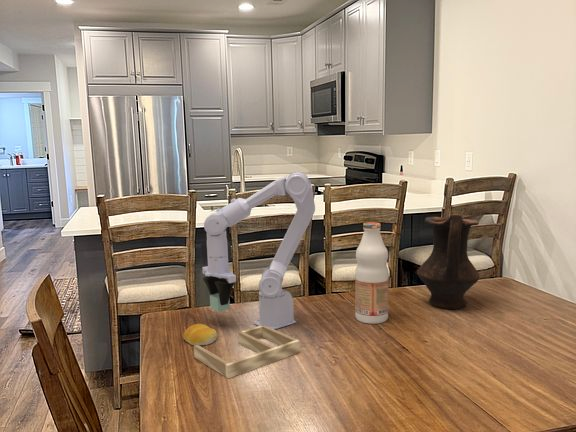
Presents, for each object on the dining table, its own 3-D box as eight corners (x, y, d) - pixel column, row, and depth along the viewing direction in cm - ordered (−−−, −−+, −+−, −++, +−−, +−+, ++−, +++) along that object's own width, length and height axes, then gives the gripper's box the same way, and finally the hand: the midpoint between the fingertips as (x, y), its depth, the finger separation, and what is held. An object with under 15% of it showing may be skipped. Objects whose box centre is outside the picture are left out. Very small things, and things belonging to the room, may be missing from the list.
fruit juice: (354, 323, 148) (354, 226, 143) (356, 312, 157) (356, 220, 153) (388, 325, 146) (388, 226, 142) (388, 314, 155) (388, 220, 151)
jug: (413, 294, 173) (414, 205, 169) (471, 295, 171) (474, 204, 166) (420, 316, 153) (422, 214, 148) (486, 317, 150) (490, 214, 145)
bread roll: (196, 349, 132) (196, 334, 132) (179, 339, 139) (178, 325, 138) (224, 340, 138) (223, 326, 137) (205, 331, 144) (205, 318, 144)
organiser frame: (263, 335, 140) (263, 324, 140) (299, 352, 129) (299, 340, 128) (194, 357, 127) (193, 345, 127) (228, 378, 116) (227, 365, 115)
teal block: (222, 305, 151) (221, 292, 151) (229, 308, 148) (229, 295, 148) (210, 308, 149) (209, 295, 148) (217, 312, 146) (217, 298, 145)
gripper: (192, 254, 149) (194, 299, 151) (219, 262, 138) (221, 311, 140) (213, 250, 154) (215, 294, 156) (241, 257, 143) (243, 305, 145)
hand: (220, 302), depth 148 cm, fingers closed on teal block, 4 cm apart
